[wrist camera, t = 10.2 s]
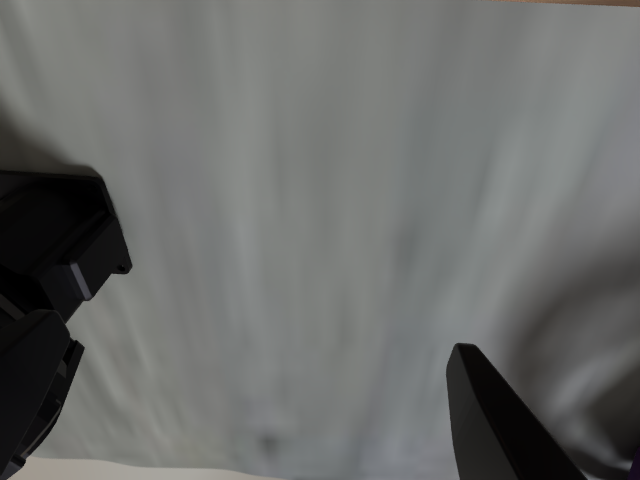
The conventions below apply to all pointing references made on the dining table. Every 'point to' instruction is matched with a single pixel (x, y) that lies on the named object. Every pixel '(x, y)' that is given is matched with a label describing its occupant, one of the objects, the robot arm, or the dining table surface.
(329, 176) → the dining table surface
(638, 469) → the decorative bottle
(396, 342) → the dining table surface
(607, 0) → the bay
